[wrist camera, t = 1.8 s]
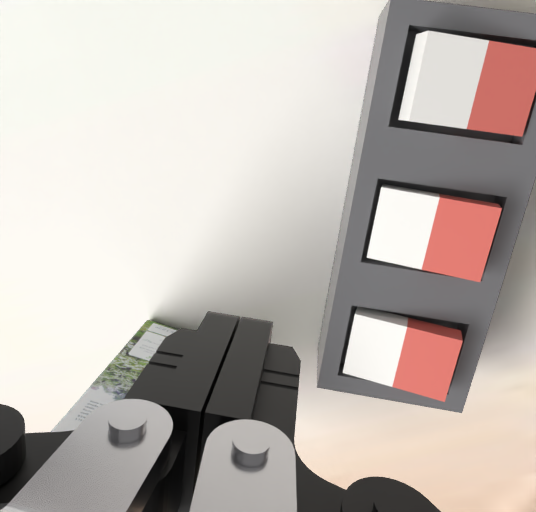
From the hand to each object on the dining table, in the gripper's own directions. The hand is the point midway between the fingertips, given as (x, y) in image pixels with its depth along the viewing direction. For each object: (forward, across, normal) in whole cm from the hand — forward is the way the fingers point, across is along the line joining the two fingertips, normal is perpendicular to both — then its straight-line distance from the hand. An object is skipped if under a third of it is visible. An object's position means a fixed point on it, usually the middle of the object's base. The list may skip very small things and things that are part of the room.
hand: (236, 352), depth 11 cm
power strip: (+21, -8, 0) cm, 22 cm away
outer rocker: (+16, -8, +8) cm, 20 cm away
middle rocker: (+16, -8, 0) cm, 18 cm away
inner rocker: (+16, -8, -8) cm, 20 cm away
